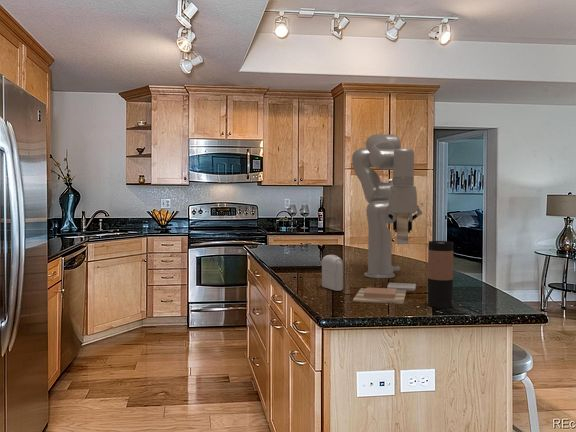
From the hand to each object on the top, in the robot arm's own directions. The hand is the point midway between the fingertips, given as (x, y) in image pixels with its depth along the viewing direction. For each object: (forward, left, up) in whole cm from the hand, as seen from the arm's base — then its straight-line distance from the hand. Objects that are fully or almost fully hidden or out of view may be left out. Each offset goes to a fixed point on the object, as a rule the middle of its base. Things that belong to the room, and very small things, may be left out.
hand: (402, 231), depth 197 cm
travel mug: (+11, +29, -21) cm, 37 cm away
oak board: (+18, +9, -21) cm, 29 cm away
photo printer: (+24, -11, -21) cm, 33 cm away
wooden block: (0, 0, -4) cm, 4 cm away
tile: (+18, +10, -19) cm, 28 cm away
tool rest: (0, 0, -21) cm, 21 cm away
